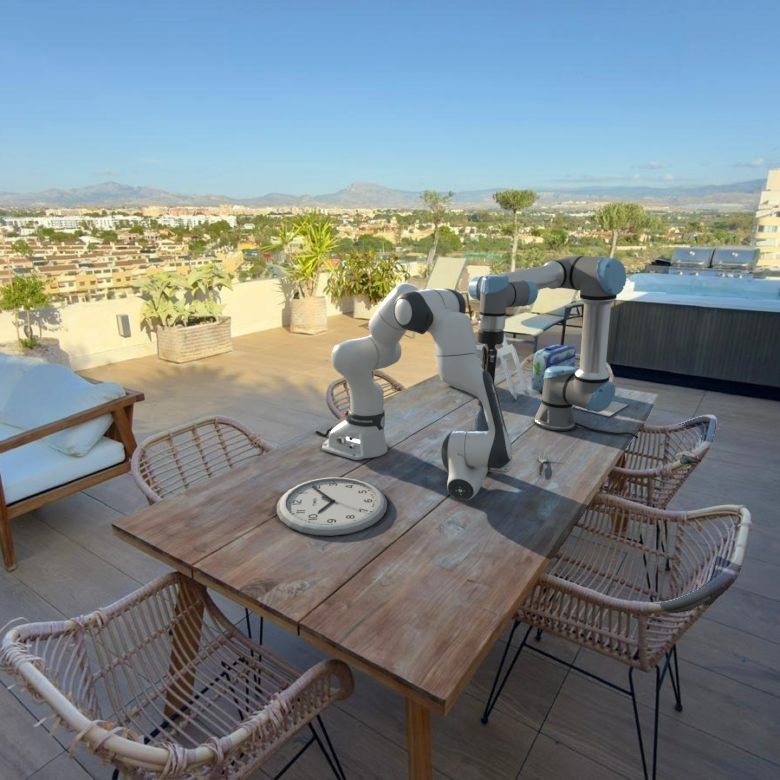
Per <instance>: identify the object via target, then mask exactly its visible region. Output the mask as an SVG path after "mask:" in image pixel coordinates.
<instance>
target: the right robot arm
mask: <svg viewBox="0 0 780 780" xmlns="http://www.w3.org/2000/svg"><path fill="white" fill-rule="evenodd" d="M626 283H627V270H626V266H625V265H624V264H623V263H622V261H621V260H620V259H617V258H614V257H608V256H588V255H573V256H568V257H563V258H559V259H555V260H554V259H553V260H549V261H548V262H546V263H545V264H544V265H540V266H535V267H531V268H530V267H529V268H525V269H520V270H516V271H511V272H506V273H505V272H504V273H500V274H485V275H481V276H479V275H478V276H477V275H476V276H474V277H472V278H471V279H470V281H469V283H468V289H467V290H468V295H469V296H470V297H471V299H473V300H476V301H479V312H478V313H479V315H478V317H477V318H476V321H477V322H478V328H479V329H478V330H477V338H476V339H477V342H478V343H480V344H481V345H483V344H485V346H483V348H482V353H483V355H482V368H483V369H484V370H485V371H487V372H489V373H490V375H491V377H492V379H493V382H494V383H495V379H496V369H495V367H496V359H497V350H498V349H497V348H496V346H497V345H502V343H503V340H504V334H505V331H504V330H505V328H506V317H507V316H506V314H507V308H516V307H519V308H520V307H522V308H523V307H526V306H531V305H533V304H534V303H535V302H536V300H537V299H538V292H539V290H542V289H547V288H548V289H550V290H556V289H567V290H573V291H574V290H575V291H579V299H580V300H581V301H582V302H583V314H582V316H583V317H582V329H581V341H580V343H581V344H580V356H579V357H580V358H579V359H580V360H579V368H577V367H575V366H574V367H571V366H555V367H549V368H547V369H546V370H545V375H544V378H543V379H544V381H543V391H541V393H542V394H541V402H540V405H539V407H538V410H537V411H536V413H535V416H534V424H535V425H536V426H537V427H539V428H542V429H544V430H549V431H556V432H567V431H572V430H574V429H575V428H576V426H578V427H581V428H583V429H586V430H589V431H593V432H597V433H601V434H609V435H615V436H616V435H617V436H625V435H626V436H627V435H629V436H632V437H634V438H635V439H639V436H638V435H637V434H636V433H633V432H629V431H627V432H626V431H625V432H615V431H609V430H602V429H597V428H593V427H589V426H586V425H584V424H582V423H579V422H576V418H575V417H576V416H575V413H574V407H576V406H578V407H581V408H584V409H587V410H589V411H594V412H601V411H603V410H605V409H606V408H607V407H608V406H609V405H610V403H611V402H612V401H614V398H615V395H616V386H615V383H613V382H612V381H610V373H609V371H607V369H606V368H607V367H606V365H607V357H608V354H607V353H608V343H609V332H610V321H611V311H612V310H611V309H612V303H613V302H614V301H615V300H617V296H618V295H619V294H621V293H622V292H623V290H624V289H625V288H624V287H625V286H626ZM573 406H574V407H573ZM482 408H483V405H482Z"/></svg>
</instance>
